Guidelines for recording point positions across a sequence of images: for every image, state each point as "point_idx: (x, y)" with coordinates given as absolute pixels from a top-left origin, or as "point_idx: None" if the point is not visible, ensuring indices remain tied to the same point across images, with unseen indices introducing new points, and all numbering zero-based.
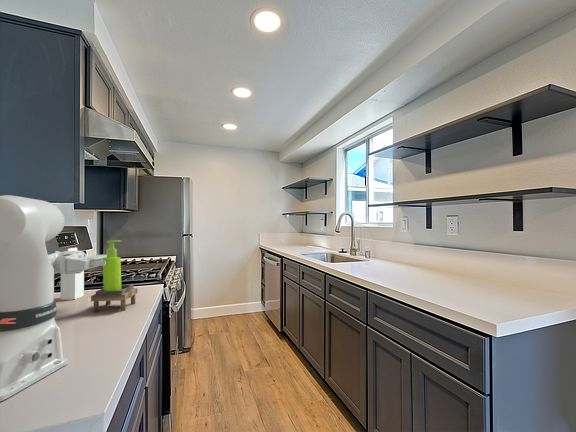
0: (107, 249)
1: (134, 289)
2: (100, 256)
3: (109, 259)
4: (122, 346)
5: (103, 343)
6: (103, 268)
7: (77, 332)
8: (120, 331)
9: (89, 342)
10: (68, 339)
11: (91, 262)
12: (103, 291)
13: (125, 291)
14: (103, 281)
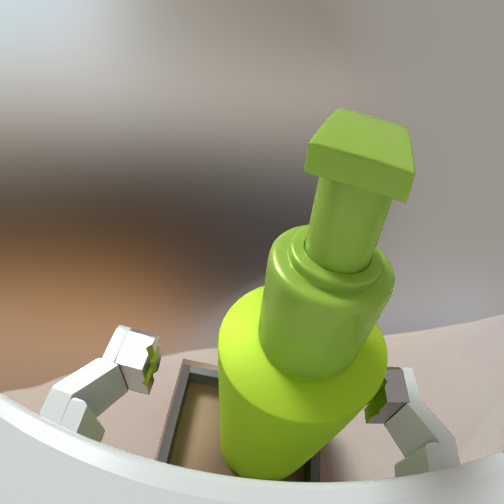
0: (392, 290)
1: (209, 366)
2: (178, 498)
3: (380, 339)
4: (482, 331)
5: (485, 360)
6: (335, 435)
7: (463, 440)
8: (444, 358)
9: (489, 383)
10: (489, 429)
11: (450, 463)
12: (318, 463)
13: None
14: (302, 464)
